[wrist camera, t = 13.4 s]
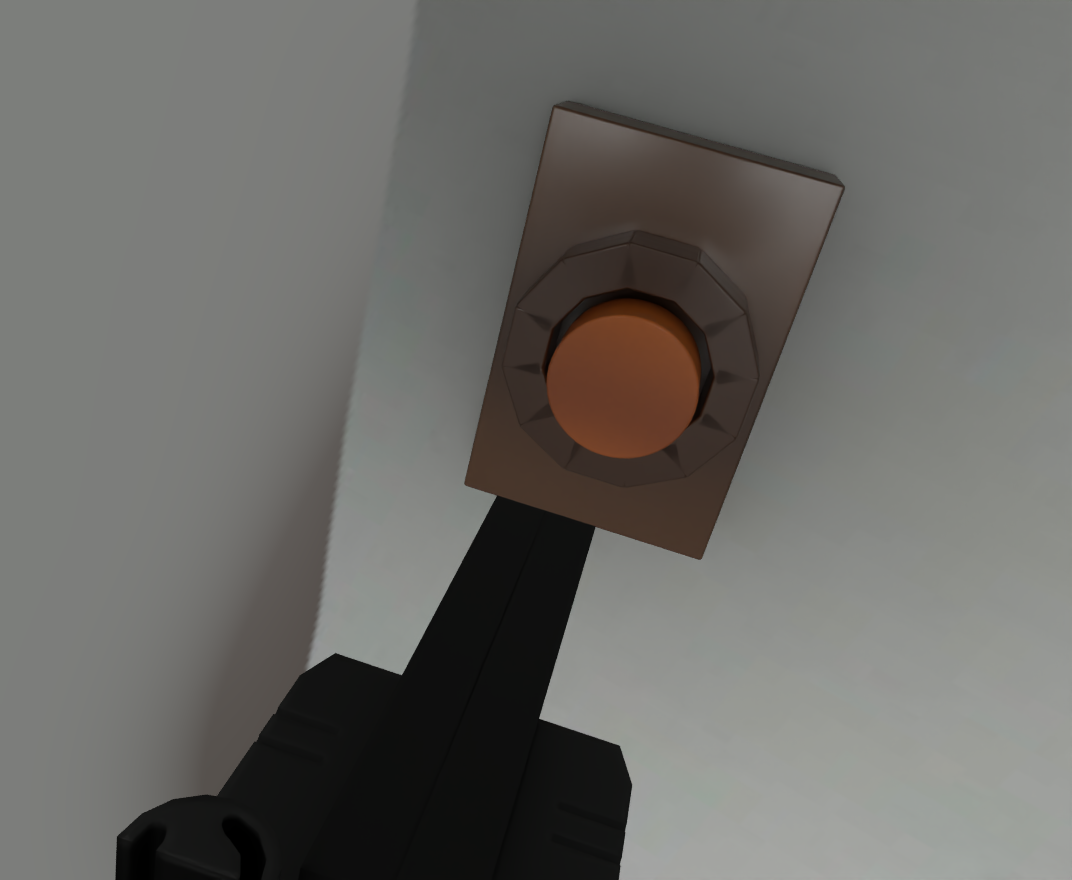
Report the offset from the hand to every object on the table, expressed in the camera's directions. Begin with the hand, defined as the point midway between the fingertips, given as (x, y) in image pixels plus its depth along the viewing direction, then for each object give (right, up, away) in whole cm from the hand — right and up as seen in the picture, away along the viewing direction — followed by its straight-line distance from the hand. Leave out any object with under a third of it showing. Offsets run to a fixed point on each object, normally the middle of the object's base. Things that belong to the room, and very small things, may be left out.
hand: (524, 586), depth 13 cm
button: (+3, +4, +11) cm, 13 cm away
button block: (+3, +6, +15) cm, 16 cm away
